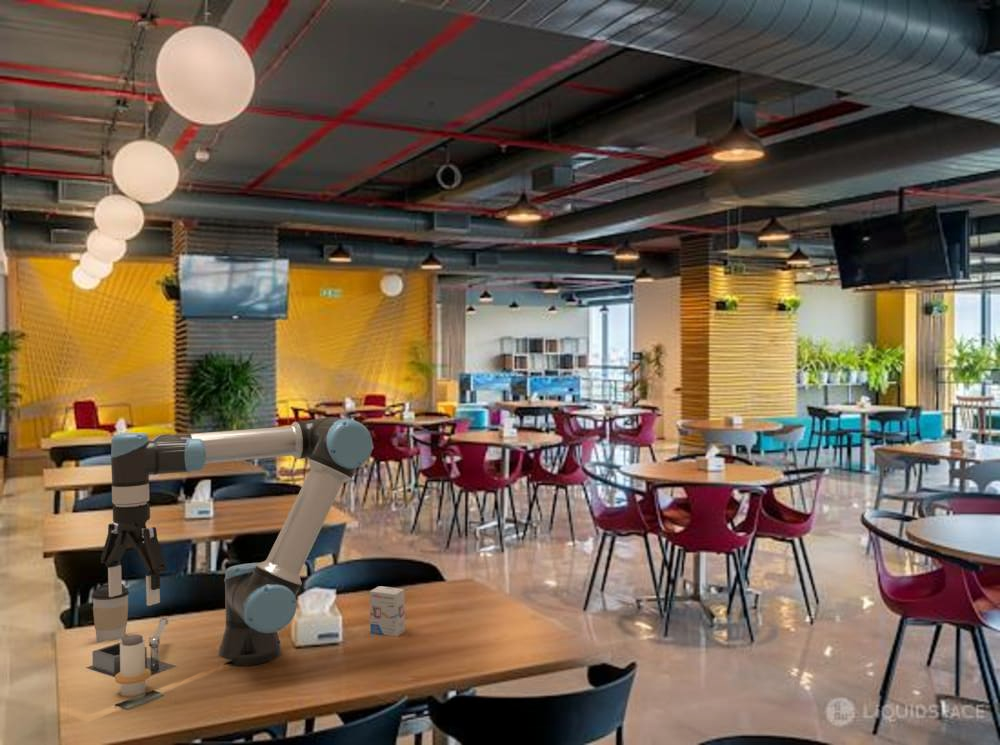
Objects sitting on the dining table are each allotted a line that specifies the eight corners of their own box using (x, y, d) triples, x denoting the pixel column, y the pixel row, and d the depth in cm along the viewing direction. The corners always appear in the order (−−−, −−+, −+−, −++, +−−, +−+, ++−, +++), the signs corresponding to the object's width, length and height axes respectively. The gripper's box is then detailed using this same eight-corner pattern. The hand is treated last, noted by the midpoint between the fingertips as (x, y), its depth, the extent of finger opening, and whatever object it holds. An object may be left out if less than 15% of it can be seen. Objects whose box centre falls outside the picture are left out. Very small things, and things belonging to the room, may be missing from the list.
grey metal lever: (159, 646, 199) (159, 639, 199) (148, 647, 198) (148, 640, 198) (169, 623, 217) (169, 616, 216) (159, 623, 216) (159, 617, 216)
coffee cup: (115, 648, 217) (114, 591, 217) (84, 646, 219) (83, 589, 219) (137, 637, 226) (136, 582, 226) (107, 635, 228) (106, 580, 228)
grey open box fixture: (177, 672, 200) (176, 644, 200) (131, 689, 190) (131, 660, 190) (131, 658, 210) (130, 632, 210) (85, 673, 200) (85, 646, 200)
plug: (157, 694, 186) (156, 636, 186) (128, 705, 180) (127, 645, 180) (137, 687, 190) (136, 630, 190) (108, 698, 184) (107, 639, 184)
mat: (164, 695, 186) (164, 693, 186) (127, 709, 179) (127, 707, 179) (139, 687, 191) (139, 685, 191) (102, 701, 184) (102, 699, 184)
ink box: (369, 633, 228) (368, 590, 228) (378, 628, 233) (378, 585, 233) (396, 637, 225) (396, 593, 225) (405, 631, 230) (405, 588, 230)
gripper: (182, 505, 181) (185, 603, 182) (113, 496, 194) (115, 587, 195) (151, 511, 175) (154, 612, 175) (82, 502, 188) (84, 596, 188)
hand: (134, 599), depth 185 cm, fingers open, 13 cm apart
